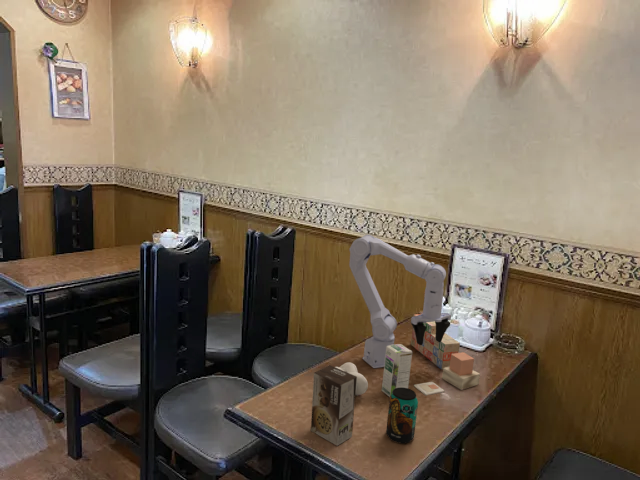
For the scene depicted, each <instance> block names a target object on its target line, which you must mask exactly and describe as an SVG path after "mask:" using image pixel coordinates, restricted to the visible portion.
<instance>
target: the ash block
mask: <svg viewBox="0 0 640 480" xmlns="http://www.w3.org/2000/svg"><path fill="white" fill-rule="evenodd" d="M449 367H450V366H449ZM449 367H446V368H443V369H442V375H441V376H442V377H441V379H442V380H444V381H445V382H447V383H449V384H451V385H452V386H454V387H456V388H457V389H459V390H466V389H468V388H471V387H475V386H478V385H479V384H480V376H481V374H480V372H478V371H476V370H474V369H473V371H472V374H466V375H458V374H457V373H455V372H454V371H452V370H451V369H449Z"/></svg>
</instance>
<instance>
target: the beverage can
mask: <svg viewBox="0 0 640 480" xmlns="http://www.w3.org/2000/svg"><path fill="white" fill-rule="evenodd" d="M418 406H419V400H418V397H417V393H416V392H415V391H414V390H413V389H410V388H409V387H408V388H396V389H394V390H393V393H392V394H391V396H390V397H389V401H388V412H387V419H386V430H385V431H386V435H387V437H388V438H389V439H390V440H391V441H392V442H394V443H396V444H397V443H398V444H408V443H410V442H411V441H413V440H414V438H415V433H416V424H417V416H418Z"/></svg>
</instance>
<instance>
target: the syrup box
mask: <svg viewBox="0 0 640 480" xmlns="http://www.w3.org/2000/svg"><path fill="white" fill-rule="evenodd" d="M412 357H413V350H411V349H410V348H407V347H406V346H405V345H403V344H402V343H401V344H399V343H397V344H395V343H394V345H389V346H387V347H386V355H385V365H384V367H383V375H382V383H381V384H382V386H381V392H383V393H384V394H385V395H387V396H388V397H389V398H390V396H391V394H392V393H393V390H394V389H396V388H408V389H409V383H410V376H411V366H412V360H413V359H412Z"/></svg>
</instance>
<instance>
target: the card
mask: <svg viewBox="0 0 640 480" xmlns="http://www.w3.org/2000/svg"><path fill="white" fill-rule="evenodd" d="M413 387H414V388H416V389H417V390H418V391H420V392H421V393H422V394H423V395H424V396H430V395H434V394H440V393H445V390H444V389H443V388H442V387H440V386H439V385H438V384H437V383H435V382H433V381H428V382H423V383H417V384H413Z"/></svg>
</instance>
